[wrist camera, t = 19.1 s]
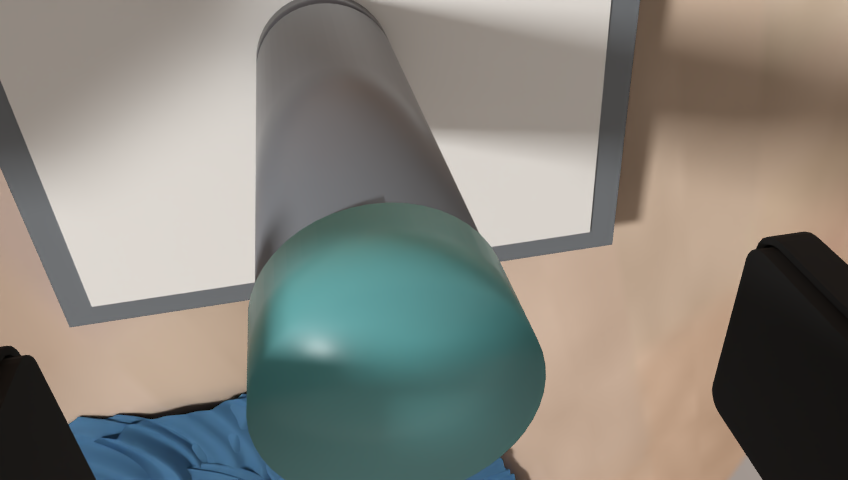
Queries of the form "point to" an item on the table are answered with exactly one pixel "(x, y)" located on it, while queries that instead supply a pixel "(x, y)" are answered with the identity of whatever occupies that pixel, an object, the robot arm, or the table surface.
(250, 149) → the drawing board
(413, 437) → the marker
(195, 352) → the table surface
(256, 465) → the decorative plate
